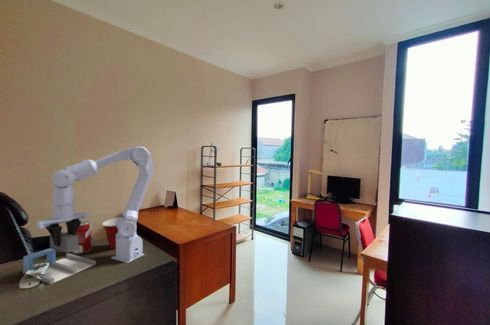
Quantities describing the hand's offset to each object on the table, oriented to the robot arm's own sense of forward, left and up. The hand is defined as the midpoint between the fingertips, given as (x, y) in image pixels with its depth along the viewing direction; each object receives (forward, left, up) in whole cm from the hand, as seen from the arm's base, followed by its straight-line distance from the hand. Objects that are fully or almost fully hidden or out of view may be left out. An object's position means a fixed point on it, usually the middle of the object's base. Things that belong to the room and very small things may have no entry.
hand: (64, 243), depth 79 cm
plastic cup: (+2, -21, -10) cm, 23 cm away
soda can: (+11, -12, -10) cm, 19 cm away
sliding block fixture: (+2, 0, -10) cm, 10 cm away
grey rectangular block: (0, 0, -2) cm, 2 cm away
